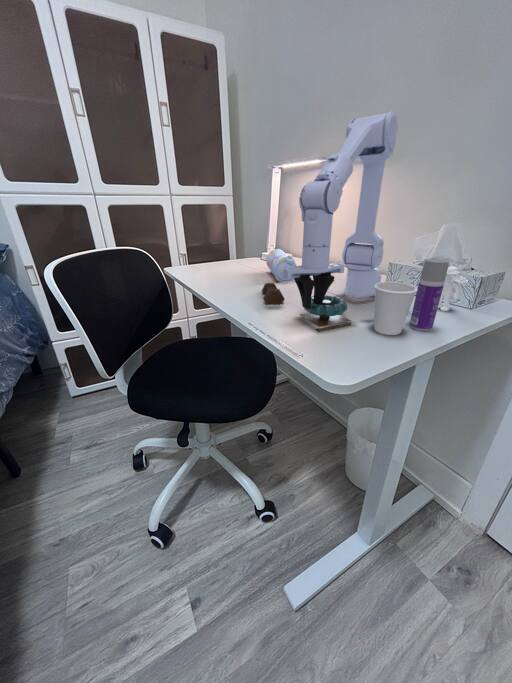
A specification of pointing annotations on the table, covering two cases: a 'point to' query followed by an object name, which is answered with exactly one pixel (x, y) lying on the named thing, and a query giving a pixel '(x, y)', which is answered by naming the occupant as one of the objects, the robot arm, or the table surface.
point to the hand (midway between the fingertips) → (311, 306)
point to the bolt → (272, 294)
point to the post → (326, 319)
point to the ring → (328, 307)
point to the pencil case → (279, 264)
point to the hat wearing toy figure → (451, 286)
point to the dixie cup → (392, 306)
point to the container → (428, 294)
